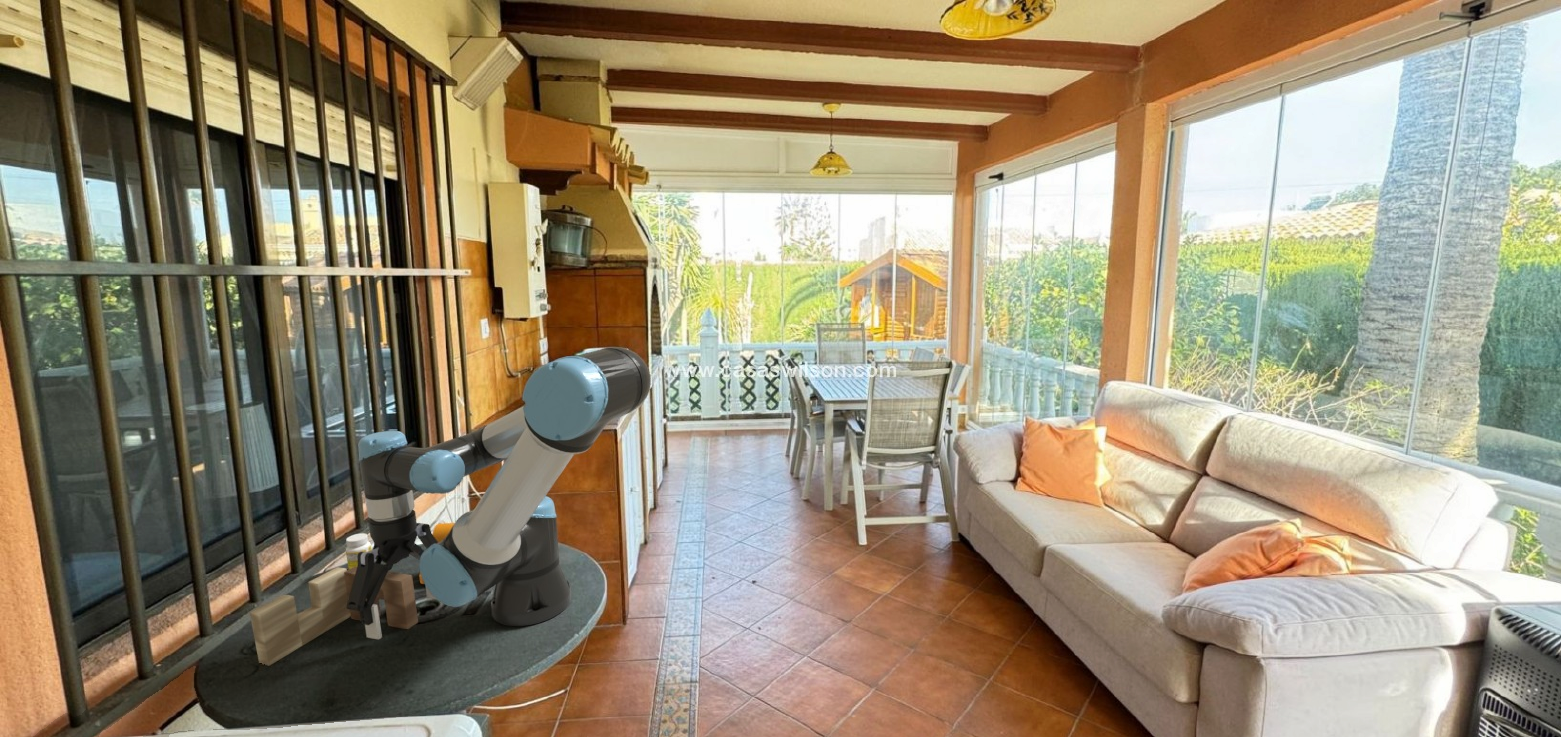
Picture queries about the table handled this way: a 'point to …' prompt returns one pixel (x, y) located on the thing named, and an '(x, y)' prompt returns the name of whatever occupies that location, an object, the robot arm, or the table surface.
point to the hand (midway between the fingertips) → (405, 616)
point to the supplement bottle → (356, 548)
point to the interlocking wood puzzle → (299, 617)
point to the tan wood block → (391, 598)
